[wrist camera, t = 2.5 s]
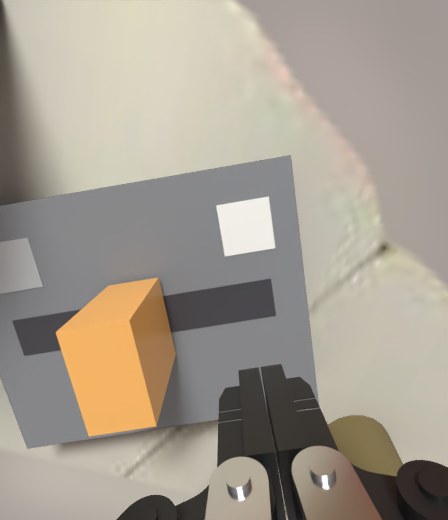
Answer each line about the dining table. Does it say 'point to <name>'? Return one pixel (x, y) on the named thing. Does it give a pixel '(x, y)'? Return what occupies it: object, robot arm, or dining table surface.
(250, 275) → the panel
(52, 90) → the dining table surface
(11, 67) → the dining table surface
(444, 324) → the dining table surface
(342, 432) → the olive pawn
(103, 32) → the dining table surface
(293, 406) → the robot arm
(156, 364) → the knob
